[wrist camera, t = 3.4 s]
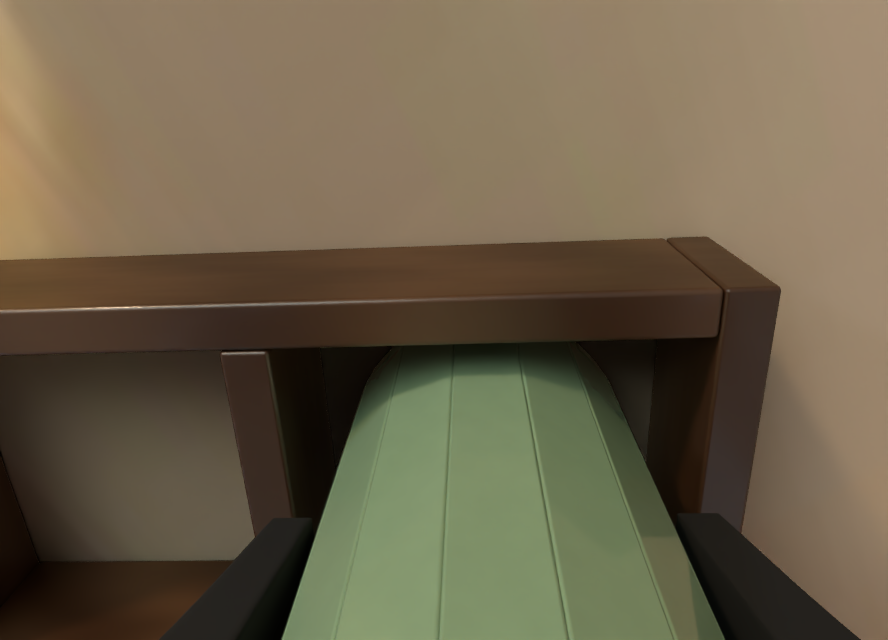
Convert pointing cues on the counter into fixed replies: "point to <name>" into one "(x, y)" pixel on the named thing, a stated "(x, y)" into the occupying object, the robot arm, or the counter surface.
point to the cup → (495, 509)
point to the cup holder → (378, 324)
